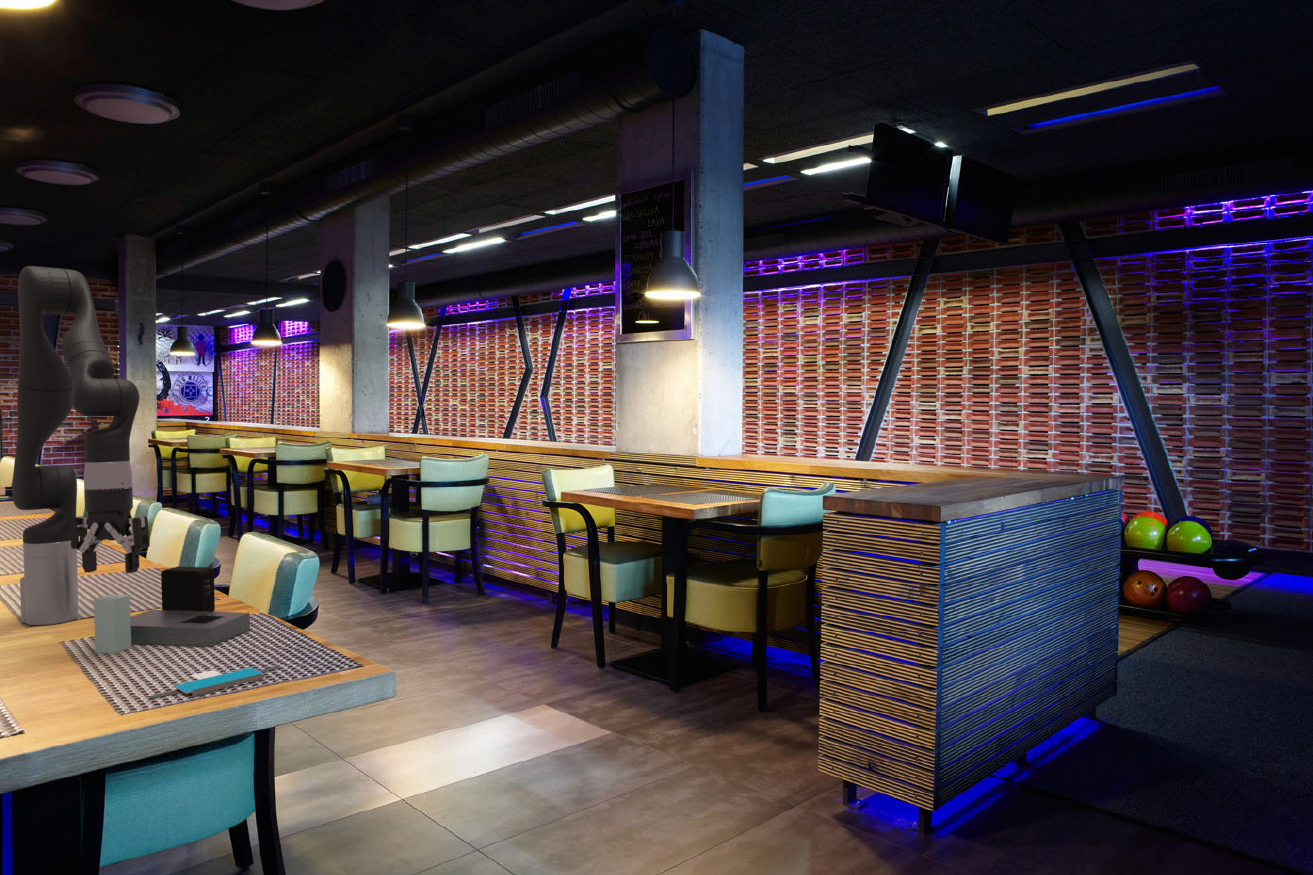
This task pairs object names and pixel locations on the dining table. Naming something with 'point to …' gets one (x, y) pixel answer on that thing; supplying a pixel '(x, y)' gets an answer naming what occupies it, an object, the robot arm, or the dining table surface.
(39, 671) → the dining table surface
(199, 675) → the teal bar with rods
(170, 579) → the electronic device
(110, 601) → the sage green square post
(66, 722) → the dining table surface
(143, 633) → the grey peg hole base
